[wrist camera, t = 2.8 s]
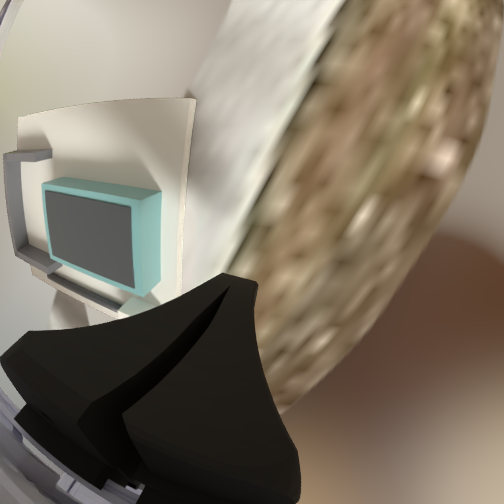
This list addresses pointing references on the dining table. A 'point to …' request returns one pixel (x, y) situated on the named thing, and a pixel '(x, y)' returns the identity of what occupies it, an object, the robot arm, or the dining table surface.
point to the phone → (105, 231)
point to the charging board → (102, 170)
